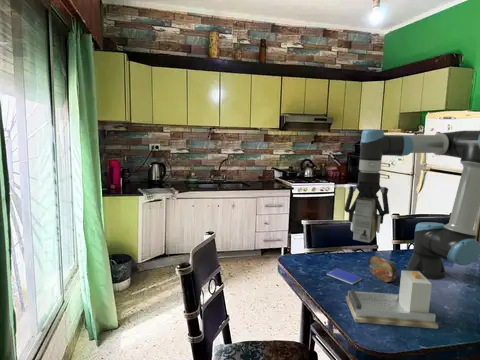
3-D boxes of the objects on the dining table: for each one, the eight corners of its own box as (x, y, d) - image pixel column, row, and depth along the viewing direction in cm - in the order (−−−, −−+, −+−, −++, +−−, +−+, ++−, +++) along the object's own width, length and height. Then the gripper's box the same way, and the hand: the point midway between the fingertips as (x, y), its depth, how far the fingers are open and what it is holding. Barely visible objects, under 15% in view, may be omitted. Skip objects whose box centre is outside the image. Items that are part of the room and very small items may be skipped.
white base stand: (418, 302, 123) (419, 293, 123) (434, 322, 110) (436, 312, 109) (347, 297, 126) (348, 288, 125) (356, 316, 113) (356, 306, 112)
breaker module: (415, 302, 122) (419, 268, 120) (427, 318, 112) (432, 280, 110) (398, 301, 122) (401, 267, 120) (409, 316, 112) (412, 279, 110)
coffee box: (358, 233, 133) (361, 194, 131) (375, 236, 130) (379, 196, 128) (352, 239, 126) (355, 197, 124) (370, 243, 122) (374, 199, 120)
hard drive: (326, 272, 148) (352, 282, 139) (337, 267, 154) (362, 276, 145) (326, 275, 149) (352, 285, 140) (336, 271, 154) (362, 280, 145)
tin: (366, 271, 154) (368, 253, 152) (372, 270, 154) (374, 252, 153) (390, 285, 139) (392, 266, 138) (397, 284, 140) (398, 265, 139)
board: (417, 303, 125) (418, 300, 124) (438, 328, 109) (438, 325, 109) (345, 298, 127) (345, 295, 127) (355, 322, 112) (355, 318, 111)
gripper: (341, 171, 122) (337, 232, 125) (403, 173, 119) (397, 235, 122) (338, 169, 129) (334, 226, 133) (396, 171, 127) (391, 229, 130)
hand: (364, 231), depth 127 cm, fingers closed on coffee box, 8 cm apart
